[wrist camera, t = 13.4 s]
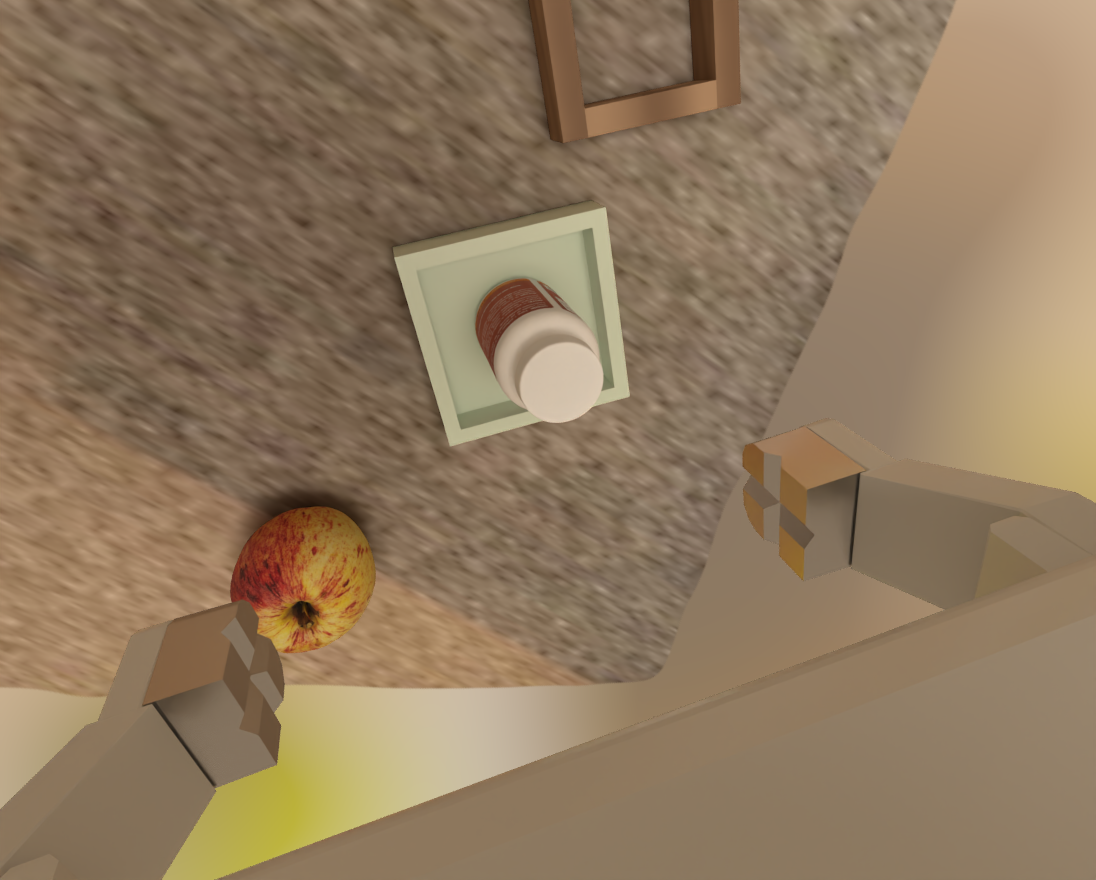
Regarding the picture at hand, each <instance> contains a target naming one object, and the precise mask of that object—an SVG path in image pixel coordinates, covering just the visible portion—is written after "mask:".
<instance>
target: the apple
mask: <svg viewBox="0 0 1096 880" xmlns="http://www.w3.org/2000/svg"><path fill="white" fill-rule="evenodd" d="M375 577H376V571H375V564H374V559H373V556H372V552H371V549H370V546H369V543H368V541H367V539H366V537H365V536H364V534H363V533H362V531H361V530H360V528H359V527H358V526H357V525H356V524H355V522H354V521H353V520H352V519H350V518H349V517H348V516H347V515H345V514H344V513H343V512H340V511H338V510H336V509H333V508H329V507H308V508H297V509H292V510H289V511H286V512H284V513H282V514H280V515H278V516H276V517H275V518H273V519H271V520H270V521H268V522H267V523H265V524H264V525H263V526H261V527H260V528H259V529H258V530H257V531H256V532H255V533H254V534H253V535H252V536H251V537H250V539H249V540H248V541H247V543H246V544H245V546H244V548H243V550H242V552H241V554H240V556H239V558H238V561H237V563H236V566H235V569H234V572H233V575H232V580H231V589H230V593H231V601H232V602H236V601H239V600H245V601H247V602H250V604H251V605H252V607H253V609H254V610H255V612H256V614H257V615H258V617H259V623H258V630H257V633H258V634H260V635H263V636H265V637H267V638H269V639H271V640H272V642H273V644H274V646H275V648H276V650H277V651H279V652H282V653H299V652H306V651H311V650H315V649H318V648H321V647H324V646H327V645H328V644H330V643H332V642H333V641H335V640H337V639H338V638H340V637H341V636H343V635H344V634H345V633H346V632H347V631H349V630H350V629H351V628H352V627H353V626H354V625H355V624H356V622H357V621H358V620H359V619H360V617H361V616H362V614H363V612H364V611H365V609H366V607H367V605H368V603H369V601H370V599H371V596H372V593H373V589H374V585H375Z"/></svg>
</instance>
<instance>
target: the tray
mask: <svg viewBox="0 0 1096 880" xmlns="http://www.w3.org/2000/svg"><path fill="white" fill-rule="evenodd" d="M392 248H393V254H394V259H395V262H396V265H397V269H398V272H399V275H400V279H401V282H402V286H403V289H404V292H405V296H406V299H407V302H408V306H409V309H410V313H411V316H412V319H413V323H414V326H415V329H416V333H417V336H418V340H419V343H420V346H421V350H422V353H423V356H424V360H425V363H426V367H427V370H428V373H429V377H430V380H431V383H432V387H433V390H434V394H435V397H436V400H437V404H438V407H439V410H440V414H441V417H442V421H443V424H444V427H445V431H446V434H447V437H448V441H449V444H450V446H453V445H457V444H461V443H464V442H468V441H471V440H475V439H479V438H482V437H486V436H489V435H493V434H497V433H500V432H504V431H507V430H511V429H515V428H518V427H522V426H525V425H529V424H533V423H536V422H540V421H543V420H541V419H539V418H537V417H535V416H534V415H532V414H531V413H530V412H529V411H528V410H527V409H524V408H522V407H520V406H518V405H516V404H515V403H514V402H512V401H511V400H510V399H509V398H508V397H507V396H506V394H505V393H504V392H503V390H502V389H501V387H500V385H499V383H498V381H497V379H496V377H495V375H494V373H493V371H492V369H491V367H490V364H489V362H488V360H487V358H486V356H485V354H484V352H483V350H482V348H481V346H480V344H479V342H478V339H477V336H476V331H475V318H476V313H477V310H478V307H479V305H480V303H481V301H482V299H483V298H484V297H485V295H486V294H487V293H488V292H489V291H490V290H491V289H493V288H494V287H495V286H497V285H498V284H500V283H502V282H504V281H507V280H510V279H514V278H531V279H535V280H538V281H540V282H543V283H544V284H546V285H547V286H549V287H550V288H551V289H553V290H554V291H555V292H556V293H557V294H558V295H559V296H560V297H561V298H562V299H563V300H564V301H565V302H566V303H567V304H568V305H569V307H570V308H571V309H572V310H573V311H574V312H575V313H576V314H577V315H578V316H579V317H580V318H581V319H582V320H583V321H584V322H585V323H586V324H587V325H588V327H589V328H590V329H591V331H592V332H593V334H594V336H595V338H596V340H597V344H598V348H599V356H600V363H601V366H602V369H603V387H602V390H601V393H600V395H599V397H598V399H597V401H596V402H595V404H594V405H593V406H592V407H594V406H597V405H601V404H604V403H608V402H612V401H615V400H619V399H622V398H626V397H629V396H630V395H629V387H628V379H627V371H626V363H625V355H624V347H623V339H622V331H621V324H620V316H619V308H618V300H617V292H616V284H615V276H614V268H613V260H612V252H611V245H610V237H609V229H608V221H607V213H606V207H604V206H602V205H600V204H598V203H596V202H594V201H592V200H589V201H585V202H581V203H576V204H572V205H568V206H564V207H560V208H555V209H551V210H547V211H543V212H539V213H534V214H530V215H526V216H522V217H517V218H513V219H509V220H505V221H501V222H496V223H492V224H488V225H484V226H479V227H475V228H471V229H467V230H463V231H458V232H454V233H450V234H446V235H442V236H437V237H433V238H429V239H425V240H420V241H416V242H412V243H408V244H404V245H399V246H395V247H392Z"/></svg>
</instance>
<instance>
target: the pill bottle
mask: <svg viewBox="0 0 1096 880" xmlns="http://www.w3.org/2000/svg"><path fill="white" fill-rule="evenodd" d="M475 331H476V336H477V339H478V342H479V344H480V346H481V348H482V350H483V352H484V354H485V356H486V358H487V360H488V362H489V364H490V367H491V369H492V371H493V373H494V375H495V377H496V379H497V381H498V383H499V385H500V387H501V389H502V390H503V392H504V393H505V394H506V396H507V397H508V398H509V399H510V400H511V401H512V402H514V403H515V404H516V405H518V406H520V407H522V408H524V409H527V410H528V411H529V412H530V413H531V414H532V415H534V416H535V417H537V418H539V419H541V420H543V421H546V422H551V423H562V422H567V421H571V420H574V419H576V418H578V417H580V416H582V415H583V414H584V413H586V412H587V411H588V410H589V409H590V408H591V407H592V406H593V405H594V404H595V402H596V401H597V399H598V397H599V395H600V393H601V390H602V387H603V369H602V366H601V363H600V356H599V348H598V344H597V340H596V338H595V336H594V334H593V332H592V331H591V329H590V328H589V327H588V325H587V324H586V323H585V322H584V321H583V320H582V319H581V318H580V317H579V316H578V315H577V314H576V313H575V312H574V311H573V310H572V309H571V308H570V307H569V305H568V304H567V303H566V302H565V301H564V300H563V299H562V298H561V297H560V296H559V295H558V294H557V293H556V292H555V291H554V290H553V289H551V288H550V287H549V286H547V285H546V284H544V283H543V282H540V281H538V280H535V279H531V278H514V279H510V280H507V281H504V282H502V283H500V284H498V285H497V286H495V287H494V288H493V289H491V290H490V291H489V292H488V293H487V294H486V295H485V297H484V298H483V299H482V301H481V303H480V305H479V307H478V310H477V313H476V318H475Z"/></svg>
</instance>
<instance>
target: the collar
mask: <svg viewBox="0 0 1096 880" xmlns="http://www.w3.org/2000/svg"><path fill="white" fill-rule="evenodd" d="M528 1H529V7H530V13H531V19H532V26H533V32H534V38H535V44H536V51H537V57H538V63H539V69H540V76H541V82H542V88H543V95H544V101H545V107H546V113H547V120H548V126H549V132H550V138H551V140H554V141H557V142H561V143H566V142H571V141H575V140H580V139H584V138H589V137H593V136H598V135H602V134H607V133H611V132H615V131H620V130H624V129H629V128H633V127H638V126H642V125H647V124H651V123H656V122H660V121H664V120H669V119H673V118H678V117H682V116H687V115H691V114H696V113H700V112H705V111H709V110H713V109H718V108H722V107H727V106H731V105H736V104H740V103H741V94H740V51H739V9H738V0H689V4H690V22H691V40H692V58H693V76H694V81H690V82H685V83H681V84H676V85H671V86H667V87H662V88H658V89H653V90H648V91H644V92H639V93H635V94H630V95H625V96H621V97H616V98H612V99H607V100H602V101H598V102H593V103H589V104H584V100H583V93H582V85H581V78H580V70H579V62H578V55H577V47H576V40H575V32H574V25H573V17H572V10H571V2H570V0H528Z"/></svg>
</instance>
